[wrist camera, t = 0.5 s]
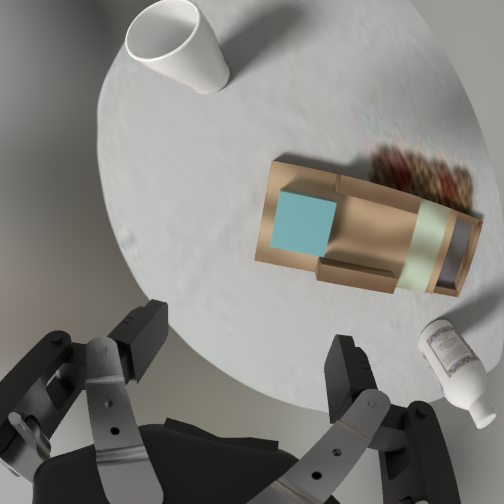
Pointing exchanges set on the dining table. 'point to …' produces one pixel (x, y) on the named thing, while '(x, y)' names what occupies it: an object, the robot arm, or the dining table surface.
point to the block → (302, 223)
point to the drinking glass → (178, 45)
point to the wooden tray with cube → (375, 235)
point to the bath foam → (457, 370)
